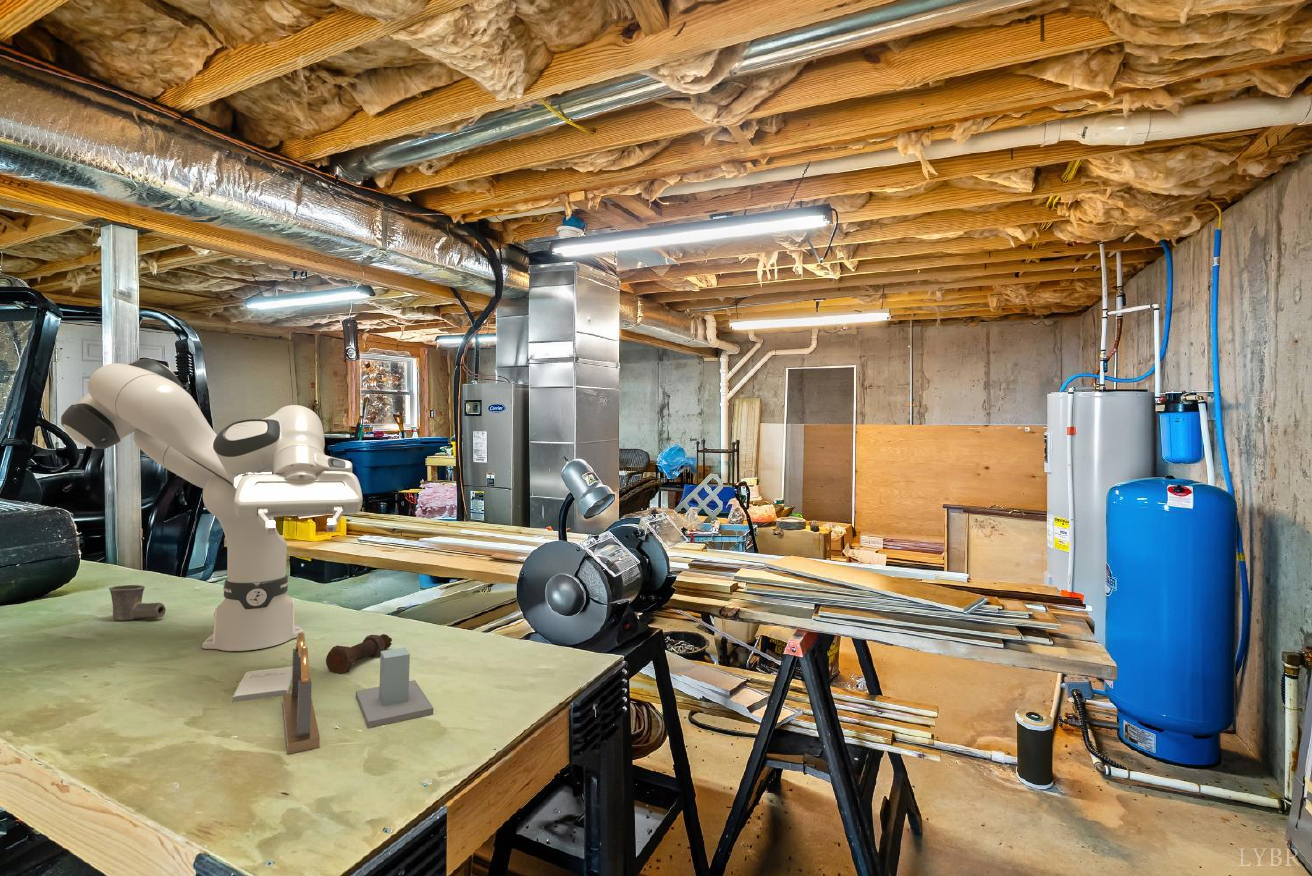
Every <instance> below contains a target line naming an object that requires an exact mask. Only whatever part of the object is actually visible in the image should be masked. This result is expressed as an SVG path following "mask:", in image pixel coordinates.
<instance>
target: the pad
mask: <svg viewBox="0 0 1312 876" xmlns="http://www.w3.org/2000/svg"><path fill="white" fill-rule="evenodd" d="M379 687H380V686H374V687H369V688H364V689H358V690H355V698H356V701H357V704H358V706H359V708H360V710H361V714H362V716H363V719H364V721H365V723H366V727H367V728H368V729H369V728H375V727H379V726H382V725H387V724H394V723H397V722H402V721H403V722H404V721H407V720H411V719H416V718H417V719H418V718H420V717H421V718H422V717H425V716H430V715H434V706H433V705H432V704H431V702H430V701H429V699H428V697H427V695H426V694H425V693H424V692H423V690H422V689H421V687H420V685H419V684H418V682H417V681H416V680H415V679H414V680H413V679H412V680H409V695H408V701H406V702H401V703H396V704H390V705H385V706H383V705H382V702H381V700H380V698H379Z"/></svg>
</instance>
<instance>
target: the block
mask: <svg viewBox="0 0 1312 876" xmlns="http://www.w3.org/2000/svg"><path fill="white" fill-rule="evenodd" d="M379 657H380V661H379V662H380V663H379V665H380V666H379V686H378V687H379V698H380V700H381V702H382V705H383V706H385V705H390V704H396V703H401V702H406V701H408V695H409V681H410V664H411V663H410V662H411V661H410V658H411V654H410V652H409V651H408V649H407V648H406V647H401V648H393V649H385V650H384V651H381V655H380V656H379Z"/></svg>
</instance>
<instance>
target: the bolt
mask: <svg viewBox="0 0 1312 876" xmlns="http://www.w3.org/2000/svg"><path fill="white" fill-rule="evenodd" d="M392 641H393V639H392V638H391V637H390V636H389V635H387V634H385V633H383V634H380V635H379V634H369V635H366V636H365V638H364V639H363V641H362V642H359V643H357V644H355V645H352V646H344V645H335V646H333V647H331V648H330V650H329V651H328V654H327V655H326V657H325V665H326V667H327V670H328V671H329V672H330V673H331V674H336V675H345V674H347V673H349V672H350V671H351V669H352V667H353V666H354V664H355V663H357V662H360V661H361V660H364V659H366V658H371V659H372V658H374V659H375V658H378V657H381V651H385V650H388V648H390V647H391V645H392Z"/></svg>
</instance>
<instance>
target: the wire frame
mask: <svg viewBox="0 0 1312 876" xmlns="http://www.w3.org/2000/svg"><path fill="white" fill-rule="evenodd" d="M291 667H292V681H291V692H288V694H284V695H282V710H283V719H284V720H283V721H284V730H285V739H286V741H285V742H286V749H287V755H290V754H295V753H300V752H304V751H308V750H309V751H310V750H313V749H317V748H320V743H321V740H320V739H321V737H320V732H319V727H318V722H317V717H316V714H315V713H316V712H315V708H314V704H313V700H312V684H313V683H312V682H313V680H312V678H311V677H310V669H309V667H310V664H309V648H308V645H307V646H306V638H305V632H304V631H303V632H300V633H298V635H297V637H296V643H295V648H292V666H291Z"/></svg>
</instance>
